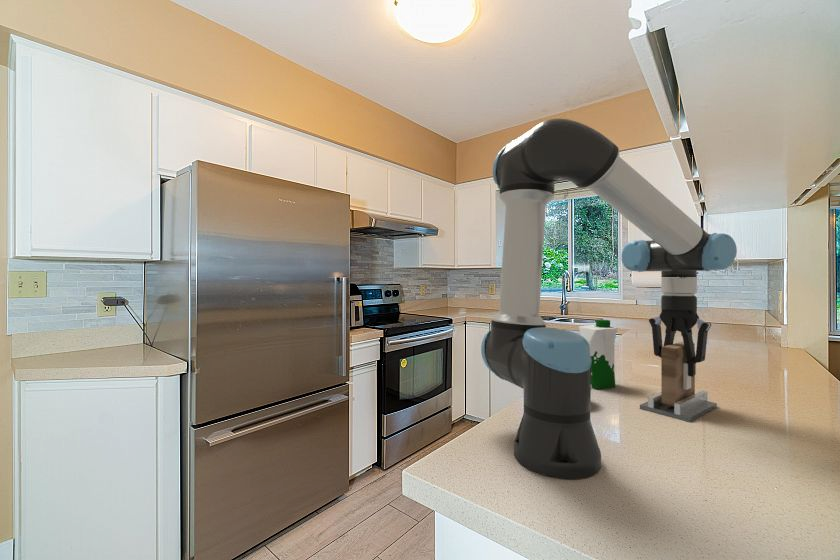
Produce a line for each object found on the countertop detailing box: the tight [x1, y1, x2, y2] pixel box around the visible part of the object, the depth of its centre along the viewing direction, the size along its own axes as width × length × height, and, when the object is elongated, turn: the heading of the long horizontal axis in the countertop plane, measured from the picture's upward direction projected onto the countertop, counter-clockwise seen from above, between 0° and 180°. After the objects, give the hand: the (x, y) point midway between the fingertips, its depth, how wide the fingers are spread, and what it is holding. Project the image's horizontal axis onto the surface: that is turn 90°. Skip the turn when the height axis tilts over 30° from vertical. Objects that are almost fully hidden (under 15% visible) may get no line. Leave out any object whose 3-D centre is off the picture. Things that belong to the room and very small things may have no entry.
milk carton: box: [578, 319, 618, 390], centre depth 117 cm, size 9×9×20 cm
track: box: [639, 390, 718, 423], centre depth 97 cm, size 17×11×4 cm, turn 125°
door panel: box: [660, 341, 696, 406], centre depth 97 cm, size 12×3×14 cm, turn 125°
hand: (678, 386), depth 97 cm, fingers open, 3 cm apart
